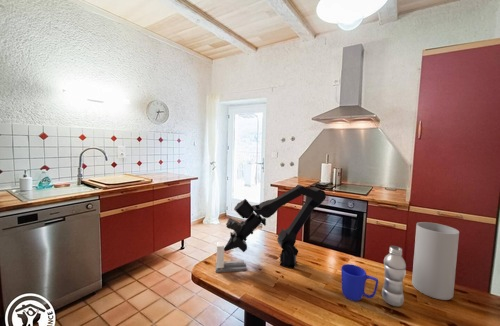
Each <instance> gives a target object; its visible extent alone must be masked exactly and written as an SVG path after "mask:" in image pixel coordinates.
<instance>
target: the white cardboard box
mask: <svg viewBox="0 0 500 326" xmlns="http://www.w3.org/2000/svg"><path fill="white" fill-rule="evenodd" d="M224 248H225V242H224V241H217V242H216V263H217V268H224V261H225V251H224Z"/></svg>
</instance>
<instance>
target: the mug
mask: <svg viewBox="0 0 500 326" xmlns="http://www.w3.org/2000/svg"><path fill="white" fill-rule="evenodd" d="M340 268H341V269H340V271H341V292H342V295H343V296H344V297H345V298H346V299H348V300H350V301H353V302H354V301H355V302H357V301H361V300H362V299H363V297H365V298H367V299H373V298H374V297H375V296H376V293H377V289H378V286H379V279H378V278H377V277H375V276H372V275H367V272H366V270H365V269H364V268H362V267H360V266H358V265H355V264H347V263H346V264H343V265H341V267H340ZM367 280H372V281H375V285H374V290H373V292H372V293H371V294H367V293H365V289H366V281H367Z"/></svg>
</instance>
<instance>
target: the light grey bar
mask: <svg viewBox="0 0 500 326" xmlns="http://www.w3.org/2000/svg"><path fill="white" fill-rule="evenodd" d="M244 263H245V261H244V260H226V261H225V260H224V267H230V266H244Z"/></svg>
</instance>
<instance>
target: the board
mask: <svg viewBox="0 0 500 326" xmlns="http://www.w3.org/2000/svg"><path fill="white" fill-rule="evenodd" d="M246 270H247V267H246V263H245V262H244V266H230V267H224V268H217V262H215V273H227V272H239V271H241V272H242V271H246Z"/></svg>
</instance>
